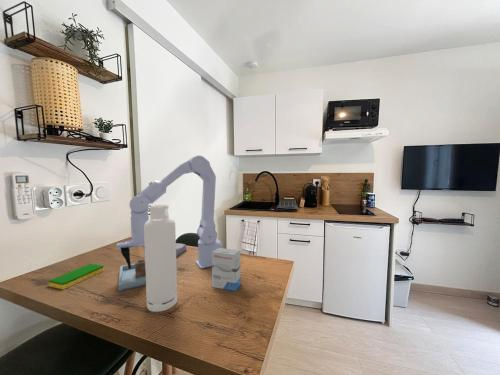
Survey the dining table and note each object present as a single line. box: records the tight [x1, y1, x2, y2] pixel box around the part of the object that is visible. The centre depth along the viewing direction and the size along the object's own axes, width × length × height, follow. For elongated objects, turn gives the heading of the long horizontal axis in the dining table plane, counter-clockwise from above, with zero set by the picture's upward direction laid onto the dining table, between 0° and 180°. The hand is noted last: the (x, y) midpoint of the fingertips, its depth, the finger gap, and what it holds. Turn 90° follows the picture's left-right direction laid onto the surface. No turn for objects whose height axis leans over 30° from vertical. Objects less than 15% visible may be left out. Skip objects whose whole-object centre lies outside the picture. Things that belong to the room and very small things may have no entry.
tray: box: [117, 263, 146, 292], centre depth 76 cm, size 14×16×2 cm
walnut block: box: [134, 258, 146, 278], centre depth 76 cm, size 4×4×5 cm
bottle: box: [144, 204, 178, 313], centre depth 59 cm, size 8×8×28 cm
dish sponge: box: [48, 263, 105, 290], centre depth 75 cm, size 7×14×2 cm, turn 163°
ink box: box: [211, 247, 242, 292], centre depth 68 cm, size 8×5×12 cm, turn 71°
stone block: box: [176, 242, 187, 258], centre depth 97 cm, size 12×5×10 cm
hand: (141, 265), depth 76 cm, fingers open, 7 cm apart
